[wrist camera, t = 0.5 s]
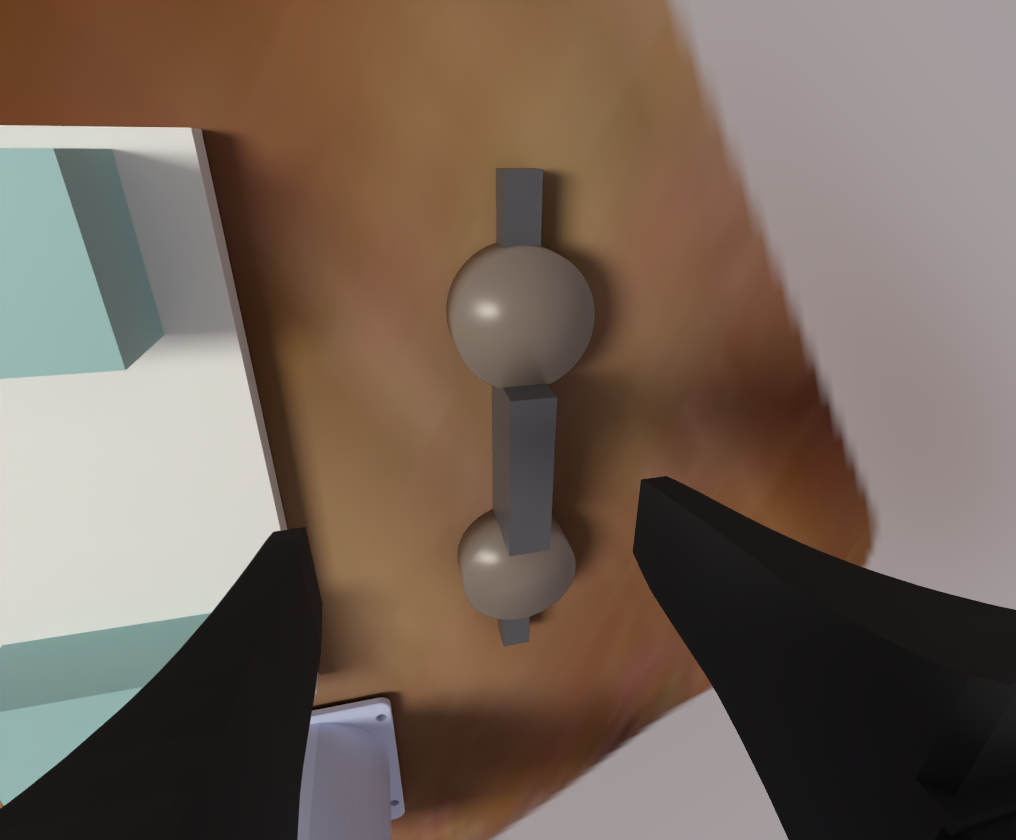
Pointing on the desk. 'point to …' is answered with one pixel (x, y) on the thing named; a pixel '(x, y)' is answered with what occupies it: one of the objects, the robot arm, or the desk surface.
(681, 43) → the desk surface
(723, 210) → the desk surface
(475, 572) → the rod with two spheres
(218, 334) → the stand
